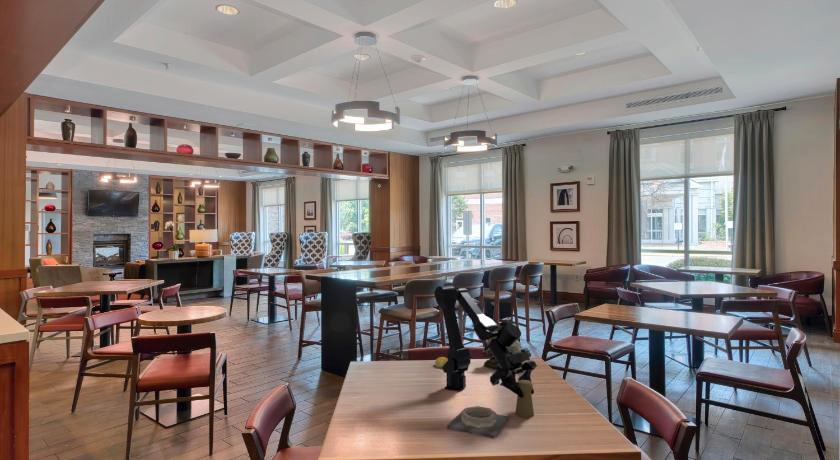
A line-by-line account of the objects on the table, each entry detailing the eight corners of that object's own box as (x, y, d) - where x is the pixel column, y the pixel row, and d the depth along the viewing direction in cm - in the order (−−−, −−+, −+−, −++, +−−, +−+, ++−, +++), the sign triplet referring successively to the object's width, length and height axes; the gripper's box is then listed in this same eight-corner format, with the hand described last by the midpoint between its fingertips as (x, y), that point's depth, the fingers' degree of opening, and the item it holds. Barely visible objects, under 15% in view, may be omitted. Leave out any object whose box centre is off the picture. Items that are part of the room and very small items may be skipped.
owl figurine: (484, 370, 204) (484, 330, 204) (479, 363, 215) (479, 325, 215) (526, 369, 205) (525, 330, 205) (518, 362, 216) (518, 324, 216)
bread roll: (440, 362, 216) (440, 353, 216) (457, 365, 211) (458, 356, 211) (431, 367, 209) (431, 357, 209) (448, 370, 204) (448, 361, 204)
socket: (447, 428, 144) (447, 417, 144) (464, 411, 158) (464, 400, 158) (495, 438, 138) (495, 426, 138) (508, 419, 151) (508, 408, 151)
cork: (534, 418, 152) (534, 384, 152) (515, 417, 153) (515, 383, 153) (533, 411, 158) (533, 378, 158) (515, 409, 159) (515, 377, 159)
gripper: (496, 345, 152) (523, 388, 144) (532, 337, 164) (560, 376, 156) (478, 364, 159) (503, 406, 150) (515, 354, 170) (540, 393, 162)
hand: (528, 395), depth 154 cm, fingers closed on cork, 5 cm apart
